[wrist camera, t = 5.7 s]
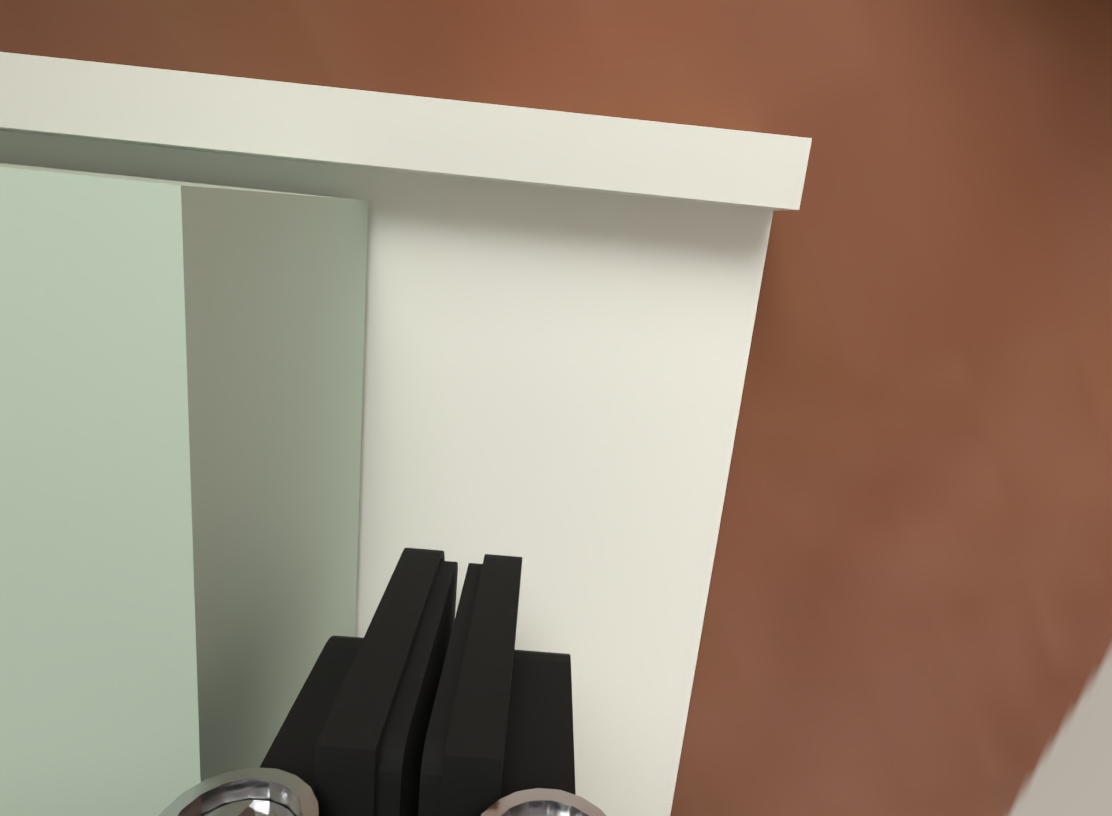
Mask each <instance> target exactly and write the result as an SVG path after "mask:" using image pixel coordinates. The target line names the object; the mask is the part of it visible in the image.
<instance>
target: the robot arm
mask: <svg viewBox="0 0 1112 816" xmlns="http://www.w3.org/2000/svg"><path fill="white" fill-rule="evenodd" d="M521 569H522V557H515V556H503V555H491V554H485V556H484V560H483V564H477V563H469V564H468V568H467V572H466V576H465V580H464V584H463V588H462V592H461V596H460V600H459V605H458V609H457V613H456V617H455V608H456V592H457V575H458V563H457V562H452V561H445V556H444V551H442V550H429V549H417V548H404V550H403V552H402V554H401V556H400V559H399V561H398V563H397V565H396V567H395V570H394V572H393V574H392V576H391V579H390V581H389V583H388V585H387V587H386V590H385V592H384V594H383V596H382V598H381V601H380V603H379V605H378V607H377V609H376V612H375V614H374V616H373V618H372V620H371V623H370V625H369V627H368V629H367V632H366V634H365V636H364V638H361V637H348V636H335V635H334V636H332V637H330V638H329V640H328V641H327V642H326V644H325V646H324V648H323V650H322V651H321V653H320V655H319V657H318V659H317V661H316V663H315V665H314V666H313V668H312V670H311V672H310V674H309V676H308V678H307V679H306V681H305V683H304V685H303V687H302V689H301V691H300V693H299V694H298V696H297V698H296V700H295V702H294V704H293V706H292V708H291V709H290V711H289V713H288V715H287V717H286V719H285V721H284V722H283V724H282V726H281V728H280V730H279V732H278V734H277V736H276V737H275V739H274V741H273V743H272V745H271V747H270V749H269V751H268V752H267V754H266V756H265V758H264V760H263V762H262V764H261V765H260V767H252V768H245V769H239V770H232V771H228V772H225V773H222V774H220V775H217V776H214V777H211V778H208V779H206V780H204V781H202V782H200V783H199V784H197V785H195V786H194V787H192V788H190V789H188V790H187V791H185V792H183V793H182V794H181V795H180V796H179V797H177V798H176V799H175V800H174V801H173V802H172V803H171V804H170V805H169V806H168V807H167V808H165V809H164V810H163V811H162V813H161V814H160V815H159V816H606V815H605V814H604V813H603V811H602V810H601V809H600V808H598V807H597V806H595V805H593V804H592V803H590V802H589V801H587V800H586V799H584V798H582V797H580V796H577V795H576V792H575V764H574V736H573V707H572V679H571V657H570V654H564V653H551V652H539V651H526V650H515V639H516V627H517V616H518V604H519V592H520V581H521Z"/></svg>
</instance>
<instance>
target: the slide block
mask: <svg viewBox="0 0 1112 816" xmlns="http://www.w3.org/2000/svg"><path fill="white" fill-rule="evenodd" d="M368 203H369V201H368V200H358V199H348V198H339V197H329V196H319V195H309V194H300V193H290V192H280V191H270V190H261V189H251V188H241V187H231V186H222V185H212V184H202V183H192V182H183V181H173V180H163V179H153V178H144V177H134V176H124V175H114V174H105V173H95V172H85V171H75V170H66V169H56V168H46V167H36V166H27V165H17V164H7V163H0V816H159V815H160V814H161V813H162V811H163V810H164V809H165V808H167V807H168V806H169V805H170V804H171V803H172V802H173V801H174V800H175V799H176V798H177V797H179V796H180V795H181V794H182V793H183V792H185V791H187V790H188V789H190V788H192V787H194V786H195V785H197V784H199V783H200V782H202V781H204V780H206V779H208V778H211V777H214V776H217V775H220V774H222V773H225V772H228V771H232V770H239V769H245V768H252V767H260V765H261V764H262V762H263V760H264V758H265V756H266V754H267V752H268V751H269V749H270V747H271V745H272V743H273V741H274V739H275V737H276V736H277V734H278V732H279V730H280V728H281V726H282V724H283V722H284V721H285V719H286V717H287V715H288V713H289V711H290V709H291V708H292V706H293V704H294V702H295V700H296V698H297V696H298V694H299V693H300V691H301V689H302V687H303V685H304V683H305V681H306V679H307V678H308V676H309V674H310V672H311V670H312V668H313V666H314V665H315V663H316V661H317V659H318V657H319V655H320V653H321V651H322V650H323V648H324V646H325V644H326V642H327V641H328V640H329V638H330V637H332V636H334V635H335V636H348V637H355V621H356V589H357V557H358V525H359V493H360V461H361V429H362V396H363V364H364V332H365V300H366V268H367V236H368Z"/></svg>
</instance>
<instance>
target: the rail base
mask: <svg viewBox="0 0 1112 816" xmlns="http://www.w3.org/2000/svg"><path fill="white" fill-rule="evenodd" d="M811 141H812V138H804V137H795V136H786V135H776V134H767V133H757V132H748V131H739V130H729V129H720V128H710V127H701V126H692V125H682V124H673V123H664V122H654V121H645V120H635V119H626V118H617V117H607V116H598V115H588V114H579V113H570V112H560V111H551V110H541V109H532V108H523V107H513V106H504V105H495V104H485V103H476V102H466V101H457V100H448V99H438V98H429V97H419V96H410V95H401V94H391V93H382V92H373V91H363V90H354V89H344V88H335V87H326V86H316V85H307V84H298V83H288V82H279V81H269V80H260V79H251V78H241V77H232V76H222V75H213V74H204V73H194V72H185V71H176V70H166V69H157V68H147V67H138V66H129V65H119V64H110V63H100V62H91V61H82V60H72V59H63V58H53V57H44V56H35V55H25V54H16V53H7V52H0V163H7V164H17V165H27V166H36V167H46V168H56V169H66V170H75V171H85V172H95V173H105V174H114V175H124V176H134V177H144V178H153V179H163V180H173V181H183V182H192V183H202V184H212V185H222V186H231V187H241V188H251V189H261V190H270V191H280V192H290V193H300V194H309V195H319V196H329V197H339V198H348V199H358V200H368V201H369V203H368V236H367V268H366V300H365V332H364V364H363V396H362V429H361V461H360V493H359V525H358V557H357V589H356V621H355V637H361V638H364V636H365V634H366V632H367V629H368V627H369V625H370V623H371V620H372V618H373V616H374V614H375V612H376V609H377V607H378V605H379V603H380V601H381V598H382V596H383V594H384V592H385V590H386V587H387V585H388V583H389V581H390V579H391V576H392V574H393V572H394V570H395V567H396V565H397V563H398V561H399V559H400V556H401V554H402V552H403V550H404V548H417V549H429V550H442V551H444V556H445V561H452V562H457V563H458V575H457V592H456V608H455V617H456V613H457V609H458V605H459V600H460V596H461V592H462V588H463V584H464V580H465V576H466V572H467V568H468V564H469V563H477V564H483V560H484V556H485V554H491V555H503V556H515V557H522V569H521V581H520V592H519V604H518V616H517V627H516V639H515V650H526V651H539V652H551V653H564V654H570V657H571V679H572V707H573V736H574V764H575V792H576V795H577V796H580V797H582V798H584V799H586V800H587V801H589V802H590V803H592V804H593V805H595V806H597V807H598V808H600V809H601V810H602V811H603V813H604V814H605V815H606V816H670V813H671V808H672V802H673V796H674V790H675V784H676V778H677V772H678V767H679V761H680V755H681V749H682V743H683V737H684V731H685V726H686V720H687V714H688V708H689V702H690V696H691V690H692V685H693V679H694V673H695V667H696V661H697V655H698V649H699V644H700V638H701V632H702V626H703V620H704V614H705V608H706V603H707V597H708V591H709V585H710V579H711V573H712V567H713V561H714V556H715V550H716V544H717V538H718V532H719V526H720V520H721V515H722V509H723V503H724V497H725V491H726V485H727V479H728V474H729V468H730V462H731V456H732V450H733V444H734V438H735V433H736V427H737V421H738V415H739V409H740V403H741V397H742V392H743V386H744V380H745V374H746V368H747V362H748V356H749V351H750V345H751V339H752V333H753V327H754V321H755V315H756V309H757V304H758V298H759V292H760V286H761V280H762V274H763V268H764V263H765V257H766V251H767V245H768V239H769V233H770V227H771V222H772V216H773V211H776V210H799V208H800V202H801V197H802V191H803V185H804V180H805V174H806V169H807V163H808V157H809V152H810V146H811Z"/></svg>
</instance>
